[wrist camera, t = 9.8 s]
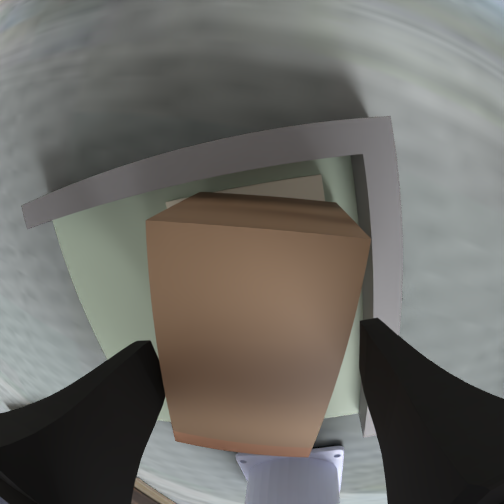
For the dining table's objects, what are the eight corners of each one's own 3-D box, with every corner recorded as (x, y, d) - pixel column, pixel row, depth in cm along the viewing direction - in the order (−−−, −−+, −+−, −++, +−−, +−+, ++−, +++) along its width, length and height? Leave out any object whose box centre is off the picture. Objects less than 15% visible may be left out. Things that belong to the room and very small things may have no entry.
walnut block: (199, 191, 12) (145, 220, 7) (336, 202, 11) (371, 239, 6) (202, 367, 15) (175, 440, 10) (305, 378, 14) (308, 457, 9)
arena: (375, 405, 16) (383, 433, 13) (143, 414, 18) (132, 438, 16) (370, 121, 10) (390, 116, 8) (51, 195, 13) (21, 205, 11)
